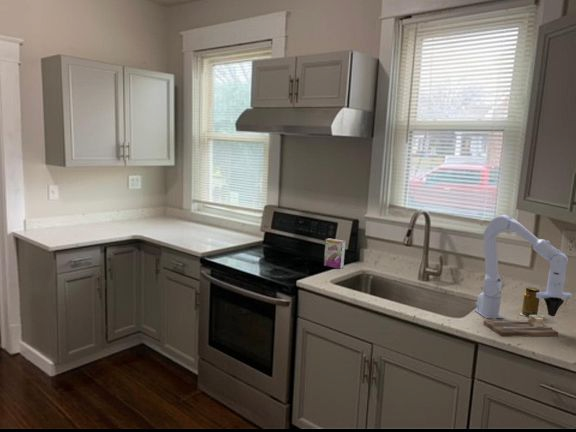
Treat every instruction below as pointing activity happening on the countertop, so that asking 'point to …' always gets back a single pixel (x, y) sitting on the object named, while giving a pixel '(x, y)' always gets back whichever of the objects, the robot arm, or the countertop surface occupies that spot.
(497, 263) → the robot arm
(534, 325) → the fader tab
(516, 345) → the countertop surface
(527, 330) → the console
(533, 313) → the condiment
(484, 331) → the countertop surface
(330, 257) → the candy bar box
